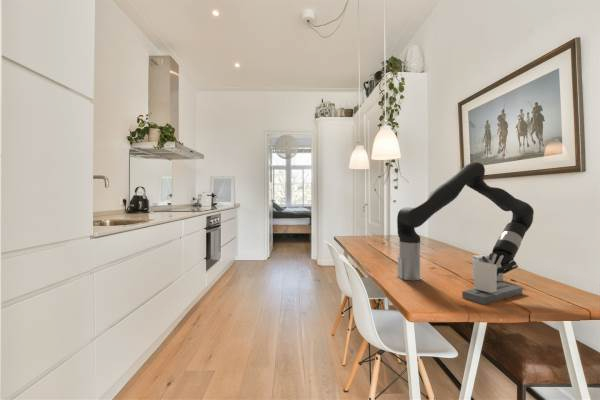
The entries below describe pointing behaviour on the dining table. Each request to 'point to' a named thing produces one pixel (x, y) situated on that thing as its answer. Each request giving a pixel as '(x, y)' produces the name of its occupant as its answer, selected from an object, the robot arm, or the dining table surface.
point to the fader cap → (485, 277)
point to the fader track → (486, 297)
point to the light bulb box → (479, 259)
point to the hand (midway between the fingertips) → (490, 279)
